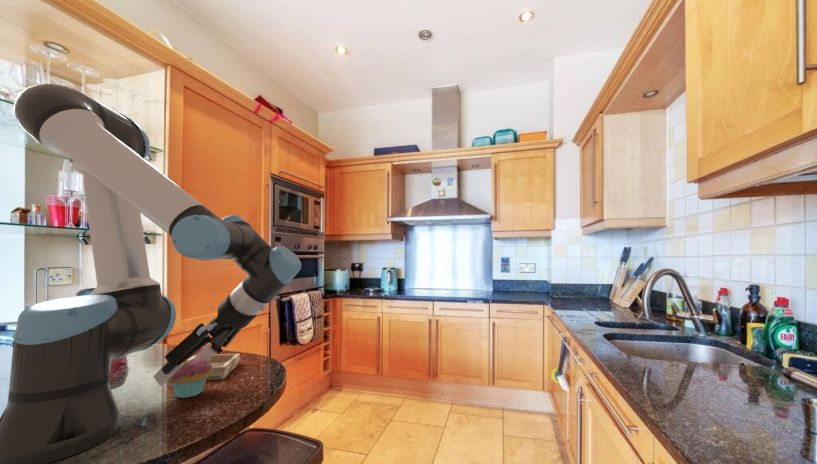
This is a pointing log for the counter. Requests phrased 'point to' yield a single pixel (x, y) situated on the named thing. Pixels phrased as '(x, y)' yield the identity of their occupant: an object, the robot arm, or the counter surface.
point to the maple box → (222, 365)
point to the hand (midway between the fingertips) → (176, 373)
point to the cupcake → (191, 378)
